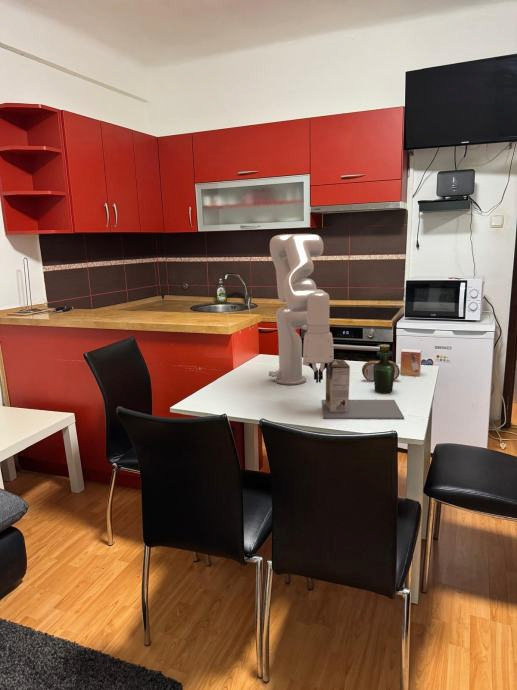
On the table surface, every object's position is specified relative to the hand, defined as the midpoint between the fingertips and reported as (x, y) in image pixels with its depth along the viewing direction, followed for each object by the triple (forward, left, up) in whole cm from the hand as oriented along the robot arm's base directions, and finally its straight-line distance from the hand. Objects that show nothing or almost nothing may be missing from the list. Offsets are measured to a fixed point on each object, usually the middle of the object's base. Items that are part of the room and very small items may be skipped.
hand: (318, 381), depth 168 cm
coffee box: (+6, 0, -10) cm, 12 cm away
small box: (+40, +45, -10) cm, 61 cm away
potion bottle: (+25, +21, -10) cm, 35 cm away
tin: (+26, +35, -10) cm, 45 cm away
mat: (+14, 0, -10) cm, 18 cm away
